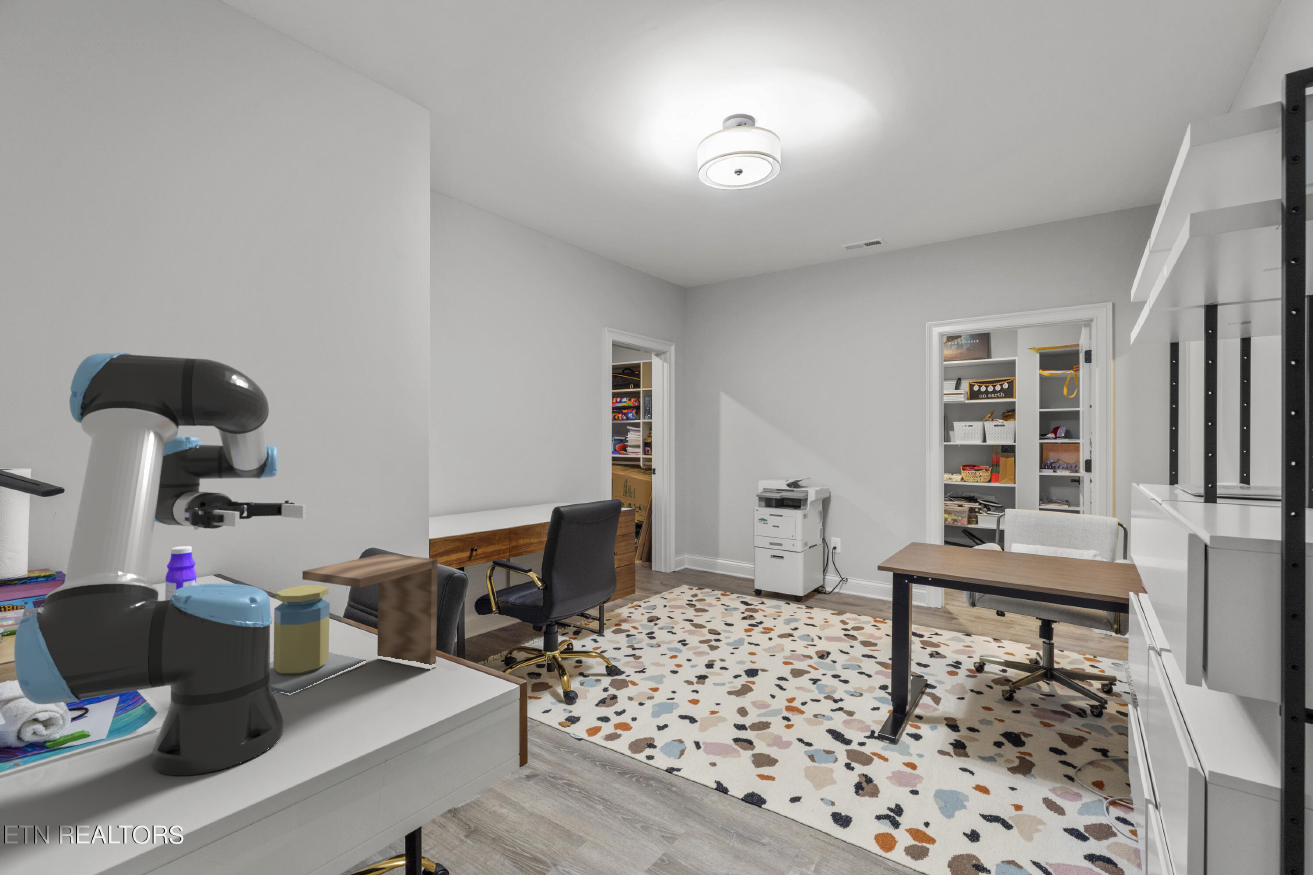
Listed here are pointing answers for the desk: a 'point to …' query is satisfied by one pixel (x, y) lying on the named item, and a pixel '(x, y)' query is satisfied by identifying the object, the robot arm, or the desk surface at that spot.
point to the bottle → (180, 570)
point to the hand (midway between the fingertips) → (272, 515)
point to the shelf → (395, 600)
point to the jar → (301, 629)
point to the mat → (310, 674)
